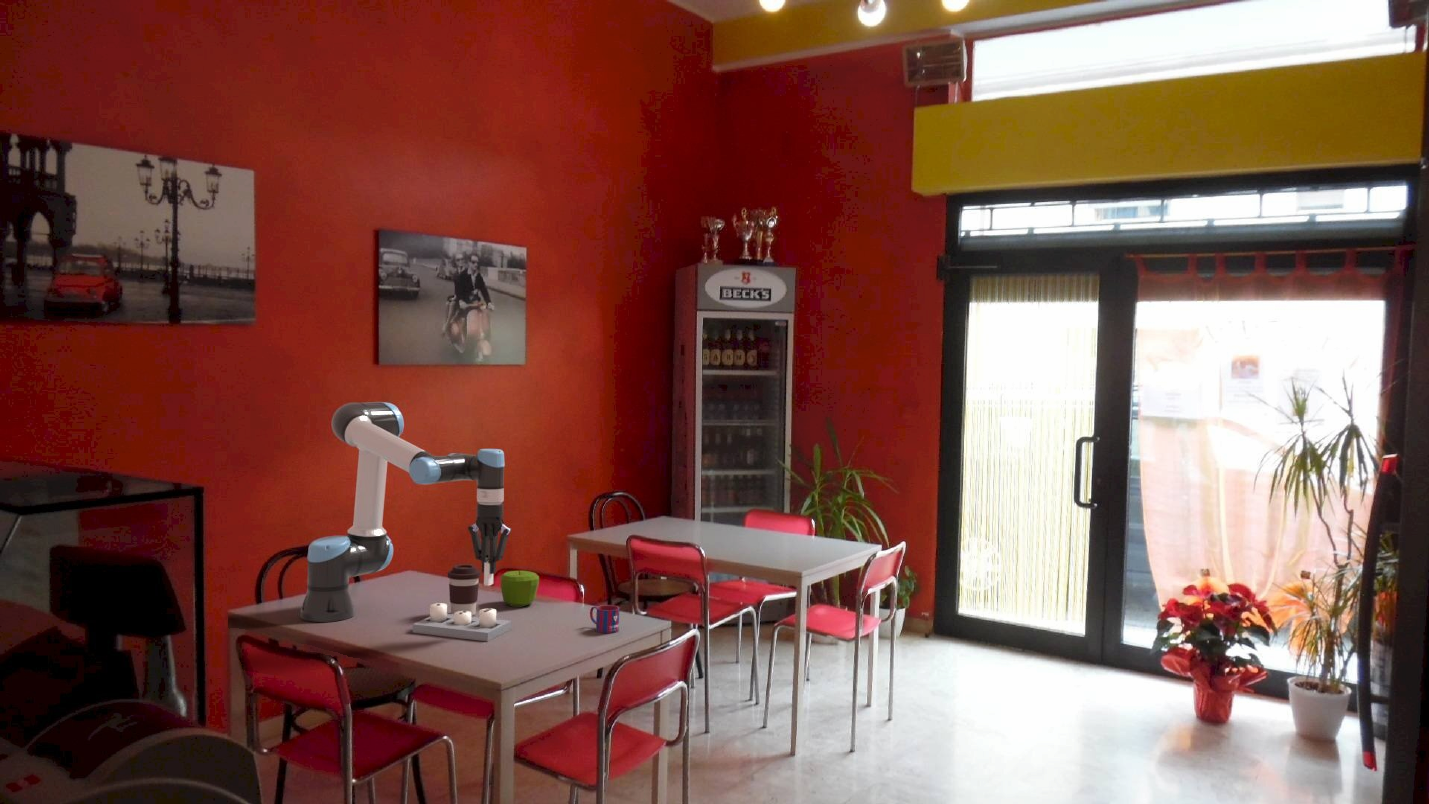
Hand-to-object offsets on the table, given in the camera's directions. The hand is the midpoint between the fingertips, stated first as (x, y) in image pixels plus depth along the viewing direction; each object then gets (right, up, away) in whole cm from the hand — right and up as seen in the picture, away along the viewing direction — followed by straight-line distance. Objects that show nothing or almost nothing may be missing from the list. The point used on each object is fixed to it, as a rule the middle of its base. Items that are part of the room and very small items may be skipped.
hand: (488, 584), depth 281 cm
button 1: (-16, -11, +5) cm, 20 cm away
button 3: (0, -12, +1) cm, 12 cm away
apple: (+2, -13, +36) cm, 38 cm away
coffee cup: (-13, -13, +21) cm, 28 cm away
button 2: (-8, -13, +3) cm, 16 cm away
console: (-8, -14, +3) cm, 16 cm away
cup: (+32, -15, +10) cm, 37 cm away
